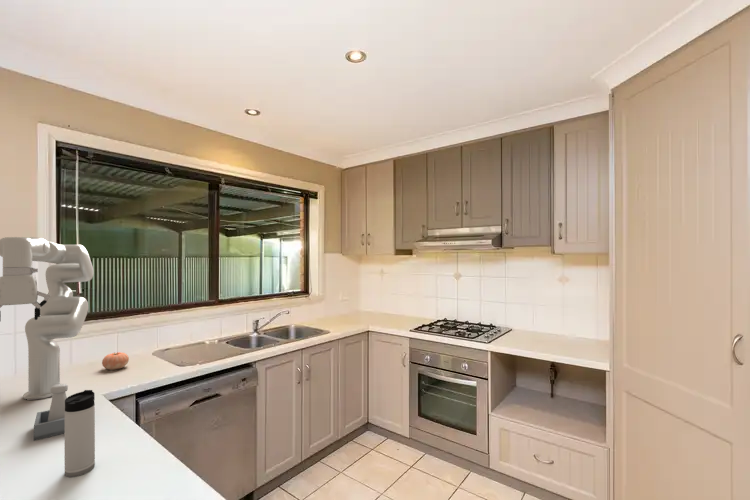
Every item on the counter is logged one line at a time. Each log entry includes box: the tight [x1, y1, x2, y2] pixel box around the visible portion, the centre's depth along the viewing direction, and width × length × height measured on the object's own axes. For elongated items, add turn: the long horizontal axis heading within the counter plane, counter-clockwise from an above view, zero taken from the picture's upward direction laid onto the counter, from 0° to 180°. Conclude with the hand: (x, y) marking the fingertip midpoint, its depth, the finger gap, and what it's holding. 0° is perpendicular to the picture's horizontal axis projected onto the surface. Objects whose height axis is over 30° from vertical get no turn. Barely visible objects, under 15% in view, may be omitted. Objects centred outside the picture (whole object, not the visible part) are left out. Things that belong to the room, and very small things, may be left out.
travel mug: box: [64, 389, 96, 478], centre depth 98 cm, size 6×7×20 cm
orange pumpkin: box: [101, 351, 130, 371], centre depth 181 cm, size 11×11×8 cm
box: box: [33, 409, 65, 441], centre depth 121 cm, size 12×12×4 cm
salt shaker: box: [48, 383, 69, 422], centre depth 121 cm, size 6×6×13 cm
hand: (17, 320), depth 130 cm, fingers open, 9 cm apart
